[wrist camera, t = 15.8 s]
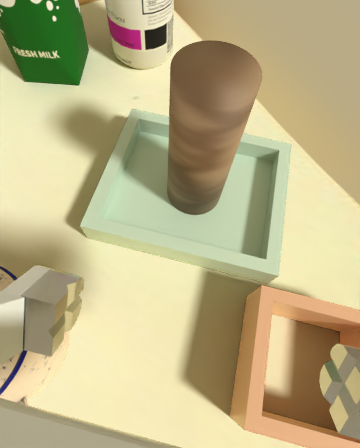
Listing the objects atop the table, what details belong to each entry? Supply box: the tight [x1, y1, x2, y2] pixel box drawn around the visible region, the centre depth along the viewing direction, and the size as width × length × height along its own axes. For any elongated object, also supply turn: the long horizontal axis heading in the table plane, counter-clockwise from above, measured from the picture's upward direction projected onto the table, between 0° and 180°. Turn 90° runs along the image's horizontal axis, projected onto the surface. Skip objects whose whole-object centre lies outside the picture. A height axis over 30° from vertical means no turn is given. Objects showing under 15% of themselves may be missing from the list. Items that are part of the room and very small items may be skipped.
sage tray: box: [80, 109, 291, 283], centre depth 29 cm, size 18×15×3 cm
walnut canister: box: [167, 41, 262, 215], centre depth 24 cm, size 6×6×14 cm
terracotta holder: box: [230, 285, 360, 448], centre depth 22 cm, size 10×10×4 cm
